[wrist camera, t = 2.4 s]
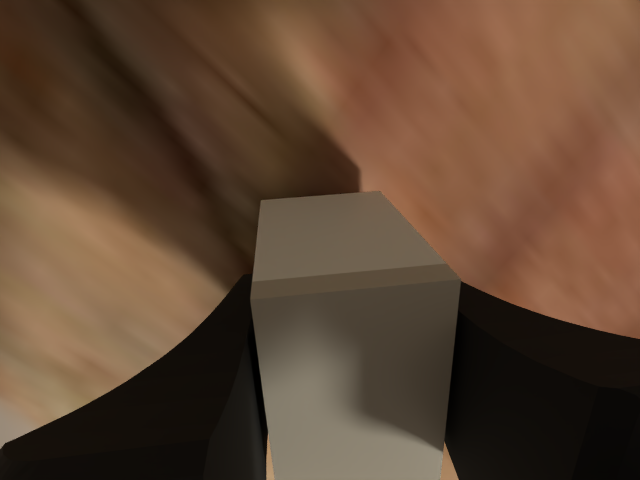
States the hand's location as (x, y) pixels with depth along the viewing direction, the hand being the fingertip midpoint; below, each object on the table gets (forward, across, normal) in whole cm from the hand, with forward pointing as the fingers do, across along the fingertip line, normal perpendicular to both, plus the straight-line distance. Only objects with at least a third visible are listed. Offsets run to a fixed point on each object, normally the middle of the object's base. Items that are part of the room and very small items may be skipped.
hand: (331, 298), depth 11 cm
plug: (+2, 0, 0) cm, 2 cm away
